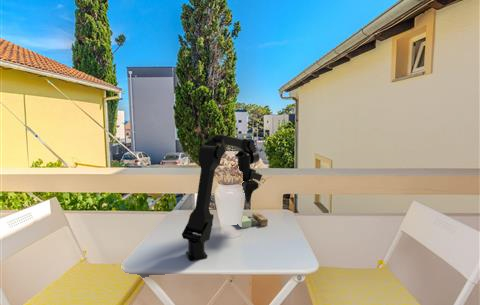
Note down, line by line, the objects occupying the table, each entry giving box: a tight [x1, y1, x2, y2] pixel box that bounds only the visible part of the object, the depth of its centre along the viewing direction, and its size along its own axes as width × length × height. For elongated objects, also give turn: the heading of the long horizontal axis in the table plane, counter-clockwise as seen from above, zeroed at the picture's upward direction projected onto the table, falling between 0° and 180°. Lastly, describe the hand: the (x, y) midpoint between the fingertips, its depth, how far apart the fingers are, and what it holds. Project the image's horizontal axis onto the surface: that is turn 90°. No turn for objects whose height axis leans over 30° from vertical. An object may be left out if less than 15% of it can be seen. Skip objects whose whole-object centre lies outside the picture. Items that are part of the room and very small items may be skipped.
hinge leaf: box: [241, 215, 255, 229], centre depth 132 cm, size 7×8×3 cm
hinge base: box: [247, 212, 269, 227], centre depth 134 cm, size 10×6×3 cm, turn 23°
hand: (243, 199), depth 130 cm, fingers open, 9 cm apart
